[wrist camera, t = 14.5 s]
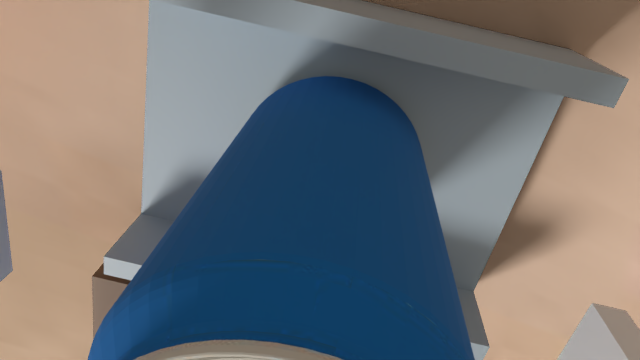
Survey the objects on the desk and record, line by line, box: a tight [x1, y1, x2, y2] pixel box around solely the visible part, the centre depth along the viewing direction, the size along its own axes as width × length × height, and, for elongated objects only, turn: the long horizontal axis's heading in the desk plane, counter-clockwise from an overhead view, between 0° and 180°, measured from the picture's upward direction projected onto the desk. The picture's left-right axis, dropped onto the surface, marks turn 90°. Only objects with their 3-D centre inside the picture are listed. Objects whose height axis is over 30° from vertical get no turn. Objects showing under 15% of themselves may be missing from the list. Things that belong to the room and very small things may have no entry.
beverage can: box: [88, 76, 475, 360], centre depth 12 cm, size 6×6×12 cm
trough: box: [104, 0, 629, 360], centre depth 16 cm, size 14×11×4 cm
